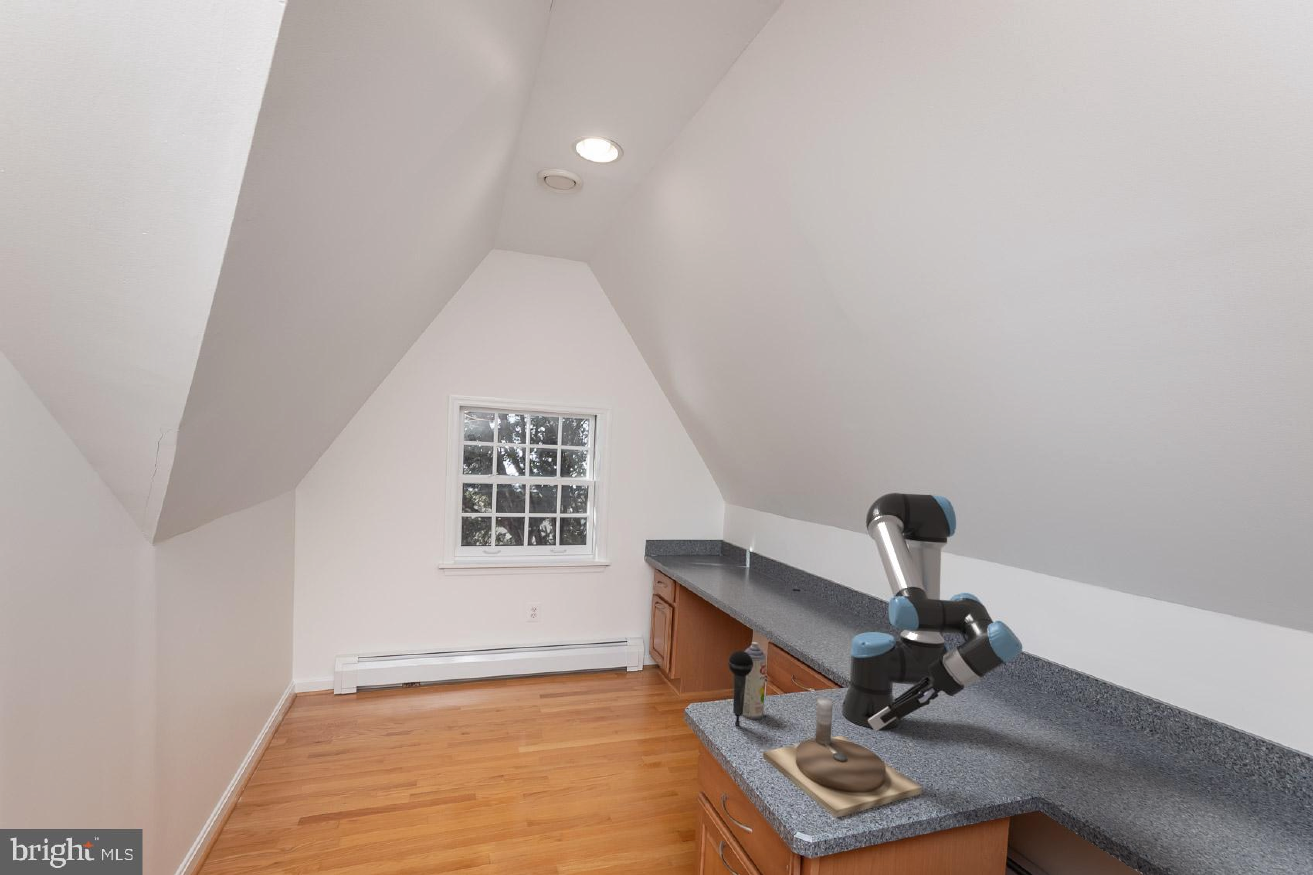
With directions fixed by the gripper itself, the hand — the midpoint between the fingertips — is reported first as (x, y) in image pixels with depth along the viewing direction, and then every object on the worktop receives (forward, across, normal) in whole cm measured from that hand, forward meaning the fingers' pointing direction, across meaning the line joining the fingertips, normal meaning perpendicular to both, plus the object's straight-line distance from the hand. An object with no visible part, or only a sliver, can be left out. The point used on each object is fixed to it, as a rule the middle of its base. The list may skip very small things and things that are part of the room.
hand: (872, 725), depth 142 cm
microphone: (+32, +2, +17) cm, 36 cm away
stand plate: (+11, -7, -3) cm, 14 cm away
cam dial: (+10, -7, -2) cm, 13 cm away
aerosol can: (+32, +11, +16) cm, 38 cm away
